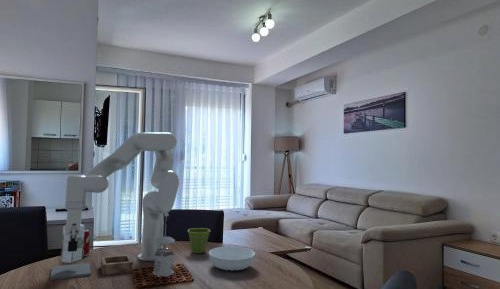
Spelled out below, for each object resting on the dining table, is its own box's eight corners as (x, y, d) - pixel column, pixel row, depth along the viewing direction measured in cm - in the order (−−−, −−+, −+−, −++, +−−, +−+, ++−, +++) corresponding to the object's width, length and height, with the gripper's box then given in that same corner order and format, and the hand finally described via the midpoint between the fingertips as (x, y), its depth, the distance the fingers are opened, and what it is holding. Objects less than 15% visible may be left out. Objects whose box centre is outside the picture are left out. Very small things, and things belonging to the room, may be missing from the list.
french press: (153, 279, 132) (157, 215, 133) (148, 270, 142) (151, 211, 143) (178, 276, 136) (181, 214, 137) (171, 267, 146) (173, 210, 148)
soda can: (82, 258, 155) (84, 232, 156) (70, 256, 156) (71, 231, 157) (92, 254, 162) (93, 229, 162) (80, 253, 163) (81, 228, 164)
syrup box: (72, 258, 140) (74, 223, 141) (83, 260, 138) (85, 224, 139) (60, 261, 134) (62, 225, 135) (71, 263, 132) (73, 226, 133)
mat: (89, 265, 145) (89, 263, 145) (90, 275, 133) (90, 273, 133) (52, 268, 139) (52, 266, 139) (49, 280, 126) (49, 277, 126)
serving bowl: (198, 266, 149) (199, 251, 150) (232, 258, 165) (232, 244, 165) (230, 279, 135) (231, 262, 136) (264, 268, 151) (264, 253, 151)
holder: (128, 263, 149) (129, 254, 150) (132, 271, 139) (132, 261, 140) (100, 266, 144) (101, 257, 144) (102, 274, 134) (103, 264, 134)
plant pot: (190, 248, 180) (191, 227, 180) (211, 250, 178) (212, 228, 179) (183, 254, 168) (184, 231, 169) (206, 256, 166) (207, 233, 167)
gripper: (65, 202, 143) (62, 244, 142) (64, 208, 128) (60, 254, 127) (85, 202, 147) (82, 242, 146) (86, 207, 131) (82, 253, 130)
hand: (72, 248), depth 136 cm, fingers closed on syrup box, 7 cm apart
